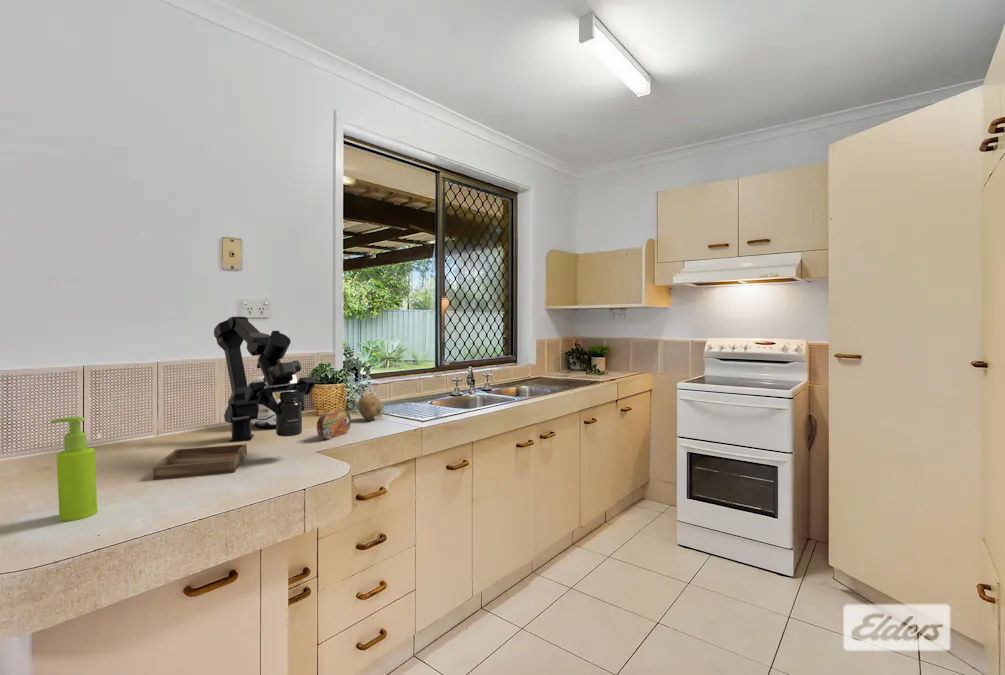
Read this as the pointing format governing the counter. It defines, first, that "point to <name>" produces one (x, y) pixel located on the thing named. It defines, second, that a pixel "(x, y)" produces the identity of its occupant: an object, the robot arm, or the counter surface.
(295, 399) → the supplement bottle
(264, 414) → the milk container
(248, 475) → the counter surface
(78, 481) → the soap dispenser
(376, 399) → the brown potato
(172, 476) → the walnut tray
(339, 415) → the tin
